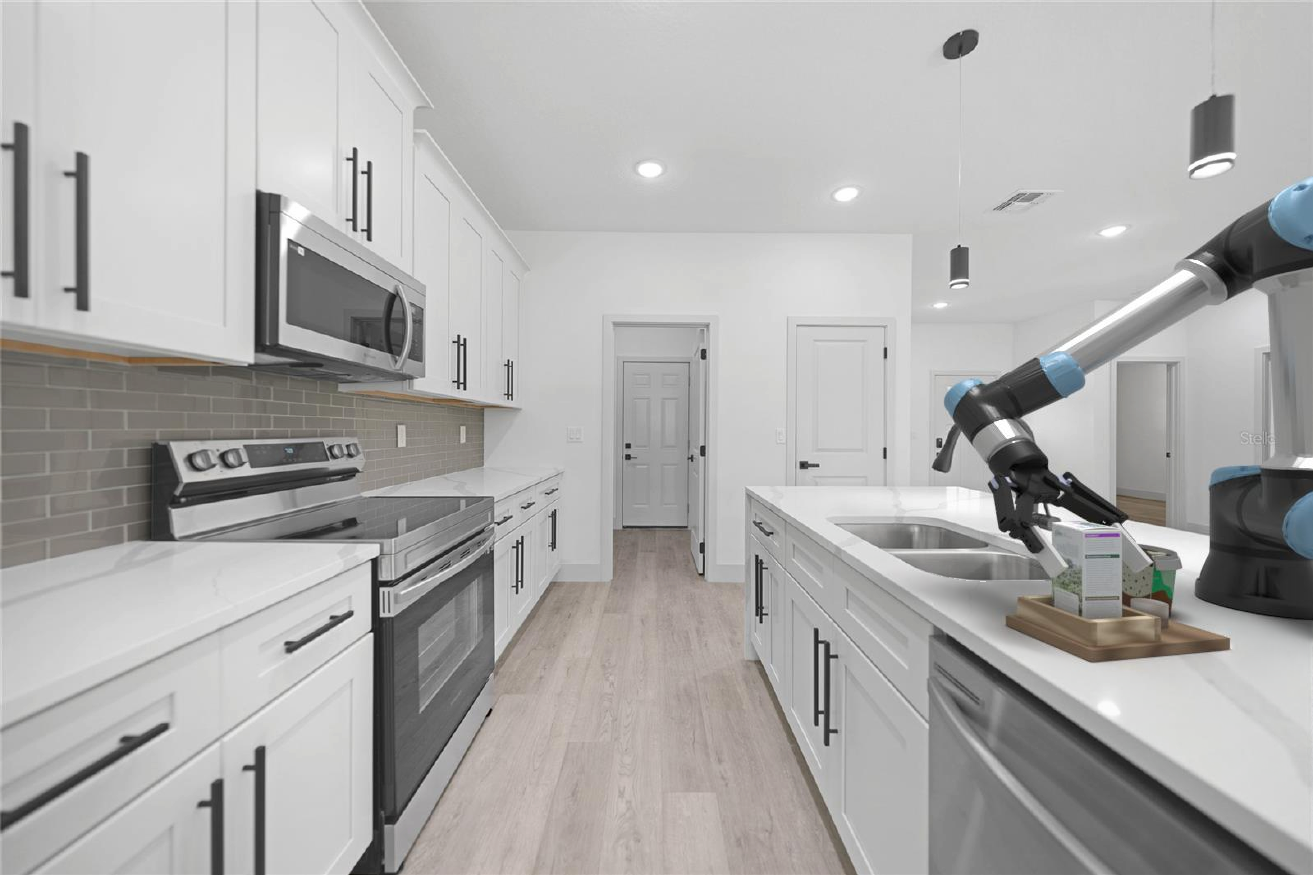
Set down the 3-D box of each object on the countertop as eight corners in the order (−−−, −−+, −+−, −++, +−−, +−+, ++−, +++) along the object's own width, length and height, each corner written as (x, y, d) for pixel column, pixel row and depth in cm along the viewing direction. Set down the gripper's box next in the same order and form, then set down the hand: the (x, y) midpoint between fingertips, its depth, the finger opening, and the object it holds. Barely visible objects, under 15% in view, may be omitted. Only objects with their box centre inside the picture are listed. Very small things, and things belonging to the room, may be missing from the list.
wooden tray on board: (1127, 616, 84) (1127, 587, 83) (1230, 649, 71) (1230, 615, 71) (1005, 625, 80) (1006, 595, 79) (1091, 662, 67) (1091, 626, 67)
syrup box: (1124, 635, 72) (1125, 527, 71) (1080, 635, 71) (1081, 527, 71) (1089, 620, 77) (1090, 520, 77) (1049, 620, 77) (1050, 520, 77)
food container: (1204, 625, 80) (1205, 558, 80) (1156, 622, 81) (1156, 556, 81) (1146, 600, 92) (1147, 541, 92) (1105, 597, 93) (1105, 540, 93)
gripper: (1060, 468, 91) (1155, 579, 77) (930, 470, 87) (1005, 588, 72) (1090, 438, 86) (1199, 551, 72) (954, 438, 82) (1041, 559, 67)
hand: (1102, 570), depth 72 cm, fingers open, 13 cm apart
